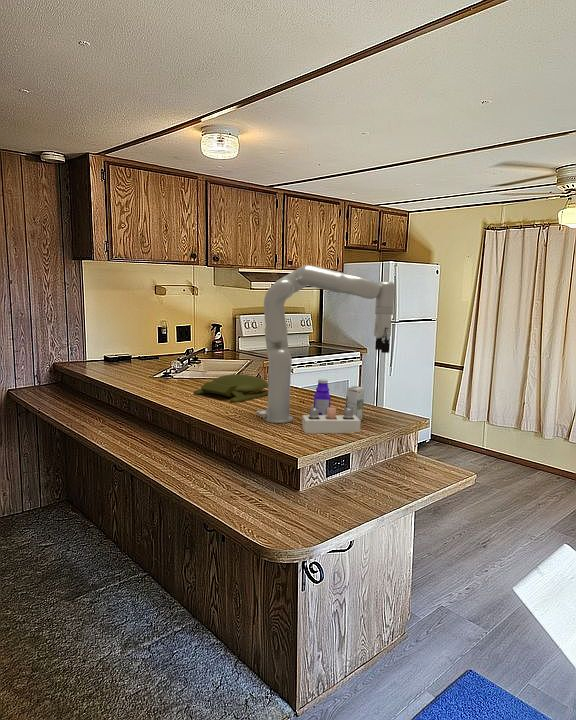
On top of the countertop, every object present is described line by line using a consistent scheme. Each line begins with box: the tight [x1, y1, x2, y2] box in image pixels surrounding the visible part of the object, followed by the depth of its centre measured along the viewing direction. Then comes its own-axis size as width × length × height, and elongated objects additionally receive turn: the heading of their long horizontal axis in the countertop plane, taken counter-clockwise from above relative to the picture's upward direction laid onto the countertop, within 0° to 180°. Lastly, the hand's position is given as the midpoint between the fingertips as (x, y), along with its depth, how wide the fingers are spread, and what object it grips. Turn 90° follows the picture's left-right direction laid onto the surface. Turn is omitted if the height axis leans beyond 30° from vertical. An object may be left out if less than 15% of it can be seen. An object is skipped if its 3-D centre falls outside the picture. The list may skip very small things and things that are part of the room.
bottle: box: [313, 378, 331, 415], centre depth 233 cm, size 7×6×17 cm
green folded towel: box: [192, 373, 268, 403], centre depth 281 cm, size 35×31×10 cm
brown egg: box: [327, 406, 337, 419], centre depth 215 cm, size 4×4×5 cm
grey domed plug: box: [343, 406, 353, 419], centre depth 216 cm, size 4×4×5 cm
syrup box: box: [344, 385, 365, 421], centre depth 232 cm, size 6×6×14 cm
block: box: [301, 414, 362, 434], centre depth 216 cm, size 22×9×5 cm, turn 95°
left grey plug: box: [309, 406, 319, 419], centre depth 215 cm, size 4×4×5 cm
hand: (382, 351), depth 229 cm, fingers open, 9 cm apart
